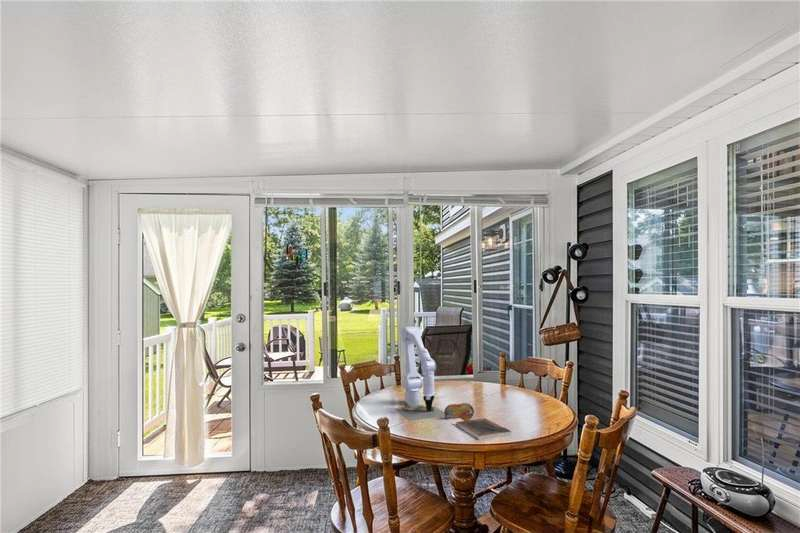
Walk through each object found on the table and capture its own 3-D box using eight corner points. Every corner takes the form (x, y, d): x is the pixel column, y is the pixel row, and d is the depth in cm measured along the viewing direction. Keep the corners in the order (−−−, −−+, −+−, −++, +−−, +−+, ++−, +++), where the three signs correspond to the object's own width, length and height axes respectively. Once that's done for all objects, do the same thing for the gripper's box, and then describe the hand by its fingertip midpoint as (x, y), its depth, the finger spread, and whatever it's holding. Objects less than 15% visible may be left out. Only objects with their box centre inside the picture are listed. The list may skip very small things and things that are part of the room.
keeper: (414, 407, 239) (414, 400, 239) (418, 407, 239) (418, 400, 239) (413, 412, 230) (413, 404, 230) (418, 412, 230) (418, 404, 230)
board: (394, 411, 237) (394, 408, 237) (432, 407, 244) (432, 404, 244) (409, 423, 216) (409, 420, 216) (449, 418, 223) (449, 415, 223)
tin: (445, 422, 217) (445, 405, 217) (443, 421, 220) (443, 403, 220) (474, 420, 221) (474, 403, 221) (471, 418, 224) (471, 401, 224)
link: (401, 410, 233) (401, 403, 233) (402, 408, 237) (402, 401, 237) (434, 411, 231) (434, 404, 231) (434, 409, 235) (434, 402, 235)
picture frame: (511, 436, 199) (485, 422, 219) (511, 430, 199) (485, 417, 219) (479, 441, 193) (455, 426, 213) (479, 435, 193) (455, 421, 213)
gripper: (435, 387, 224) (436, 414, 223) (436, 381, 238) (437, 406, 237) (421, 386, 224) (422, 414, 224) (423, 380, 239) (423, 406, 238)
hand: (428, 410), depth 231 cm, fingers closed
